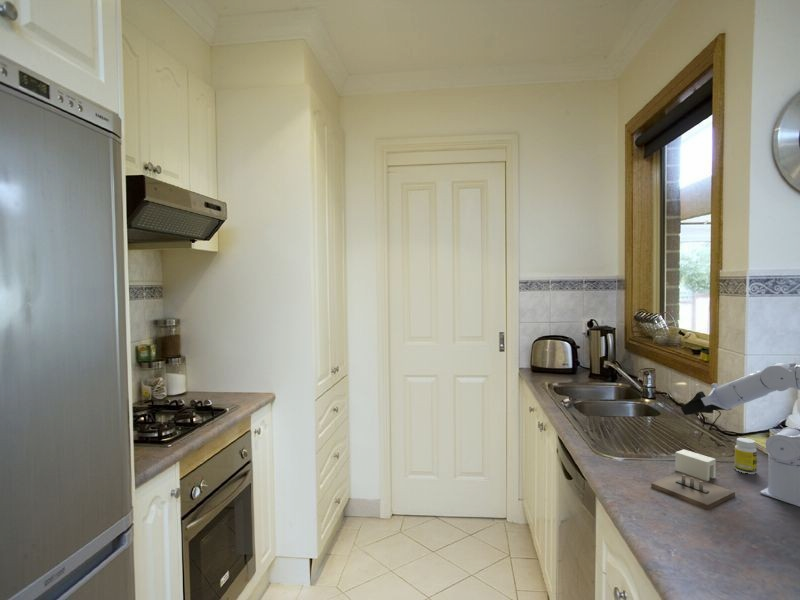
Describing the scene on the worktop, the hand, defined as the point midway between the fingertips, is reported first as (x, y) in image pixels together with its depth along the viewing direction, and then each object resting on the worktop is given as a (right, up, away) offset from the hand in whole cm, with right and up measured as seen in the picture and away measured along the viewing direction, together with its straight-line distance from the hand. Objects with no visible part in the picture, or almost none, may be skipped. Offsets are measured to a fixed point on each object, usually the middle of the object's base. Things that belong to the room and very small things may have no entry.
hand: (690, 410), depth 123 cm
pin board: (-8, -17, -13) cm, 22 cm away
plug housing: (-1, -16, -3) cm, 16 cm away
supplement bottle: (+14, -16, -2) cm, 21 cm away
